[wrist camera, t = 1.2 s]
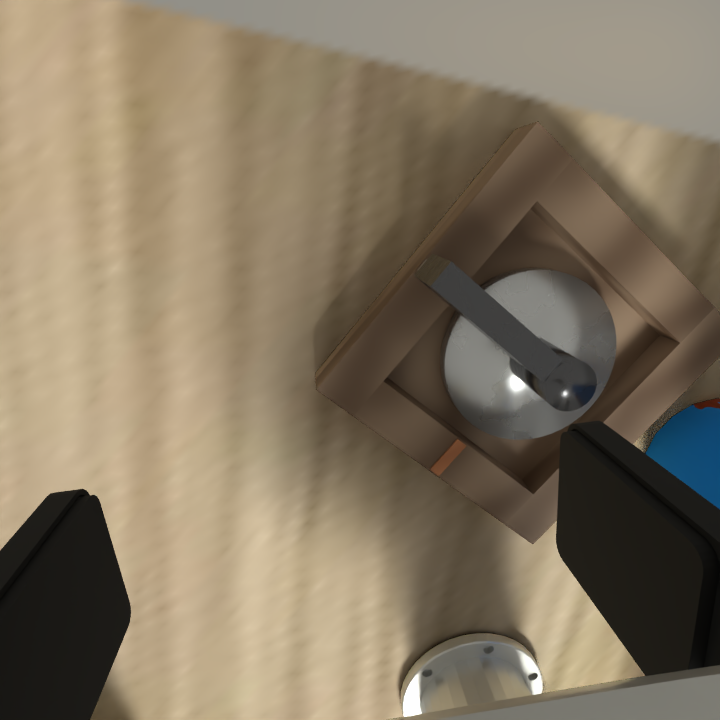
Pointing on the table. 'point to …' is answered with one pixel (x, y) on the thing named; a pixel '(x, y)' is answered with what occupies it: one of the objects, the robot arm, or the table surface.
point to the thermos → (692, 448)
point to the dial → (522, 347)
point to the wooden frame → (500, 255)
